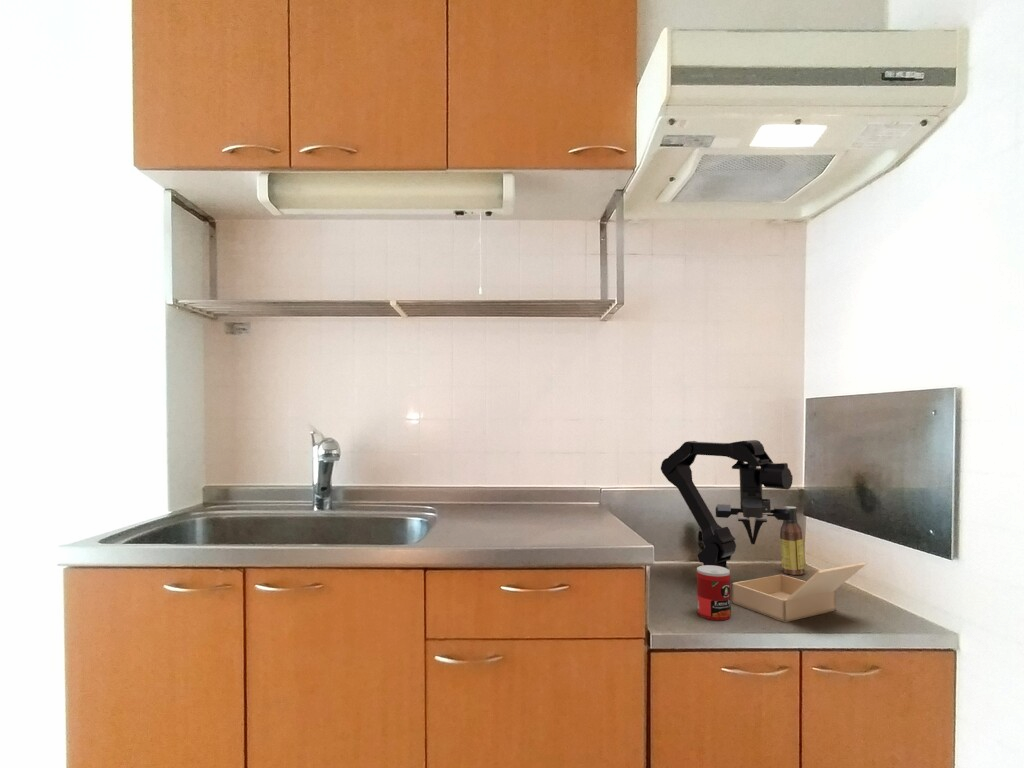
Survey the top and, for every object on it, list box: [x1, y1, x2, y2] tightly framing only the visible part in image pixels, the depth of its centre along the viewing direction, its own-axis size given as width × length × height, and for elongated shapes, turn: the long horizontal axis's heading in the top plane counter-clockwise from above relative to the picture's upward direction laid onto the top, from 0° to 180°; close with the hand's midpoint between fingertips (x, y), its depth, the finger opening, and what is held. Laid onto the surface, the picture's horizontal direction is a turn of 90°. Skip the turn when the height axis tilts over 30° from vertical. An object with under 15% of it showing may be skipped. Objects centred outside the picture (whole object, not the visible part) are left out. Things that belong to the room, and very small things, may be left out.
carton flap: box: [787, 561, 867, 601], centre depth 140 cm, size 12×16×1 cm
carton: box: [731, 573, 837, 623], centre depth 151 cm, size 16×18×5 cm
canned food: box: [696, 565, 732, 621], centre depth 145 cm, size 8×8×11 cm
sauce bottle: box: [779, 505, 806, 576], centre depth 182 cm, size 7×6×20 cm
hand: (752, 544), depth 163 cm, fingers closed
